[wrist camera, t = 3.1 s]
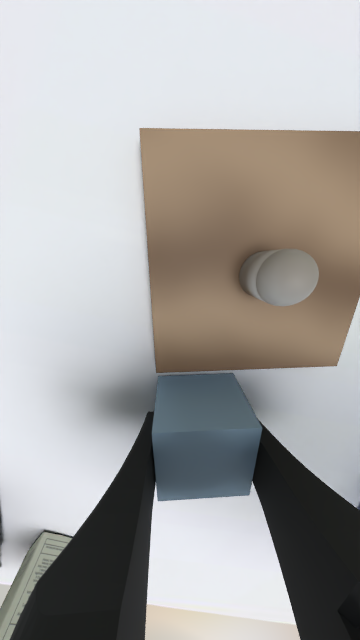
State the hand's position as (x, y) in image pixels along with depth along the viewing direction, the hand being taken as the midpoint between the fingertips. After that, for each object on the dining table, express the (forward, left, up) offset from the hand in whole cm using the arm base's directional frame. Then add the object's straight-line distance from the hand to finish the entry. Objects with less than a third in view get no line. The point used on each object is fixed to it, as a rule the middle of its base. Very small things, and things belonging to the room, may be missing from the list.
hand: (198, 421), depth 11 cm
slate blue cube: (0, 0, -1) cm, 1 cm away
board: (+9, -3, -1) cm, 10 cm away
